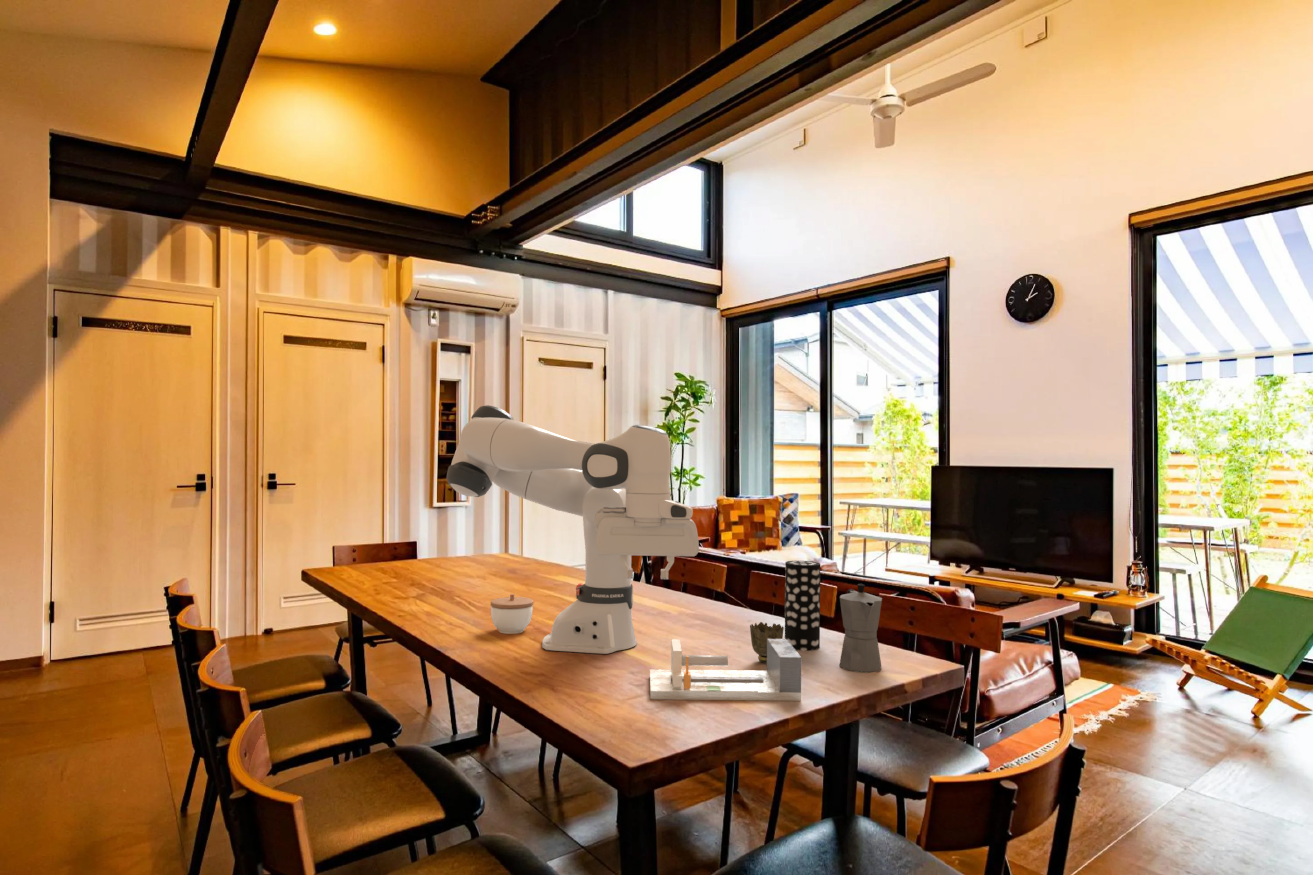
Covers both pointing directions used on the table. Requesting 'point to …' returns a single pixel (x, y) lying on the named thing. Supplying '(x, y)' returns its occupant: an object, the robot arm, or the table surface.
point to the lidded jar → (511, 614)
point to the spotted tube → (802, 604)
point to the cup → (764, 638)
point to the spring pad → (690, 661)
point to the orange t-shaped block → (687, 675)
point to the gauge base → (738, 680)
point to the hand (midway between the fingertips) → (646, 578)
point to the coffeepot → (860, 631)
